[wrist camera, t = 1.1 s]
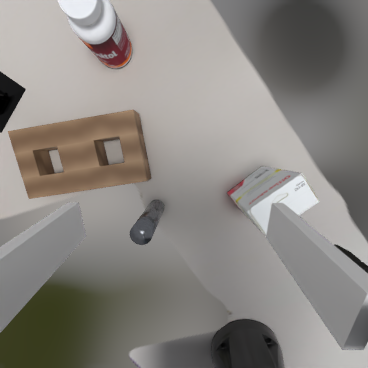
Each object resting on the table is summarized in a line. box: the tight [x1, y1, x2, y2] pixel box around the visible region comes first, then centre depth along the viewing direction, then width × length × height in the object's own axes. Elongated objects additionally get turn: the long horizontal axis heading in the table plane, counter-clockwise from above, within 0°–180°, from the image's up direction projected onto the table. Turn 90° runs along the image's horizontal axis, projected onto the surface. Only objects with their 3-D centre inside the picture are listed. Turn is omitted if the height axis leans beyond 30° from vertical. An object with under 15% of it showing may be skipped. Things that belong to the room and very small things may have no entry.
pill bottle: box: [58, 0, 132, 69], centre depth 25 cm, size 6×6×11 cm
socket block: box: [8, 110, 151, 199], centre depth 32 cm, size 12×22×4 cm, turn 99°
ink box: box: [227, 166, 319, 236], centre depth 28 cm, size 9×5×12 cm, turn 128°
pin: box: [130, 200, 164, 245], centre depth 29 cm, size 3×3×12 cm
